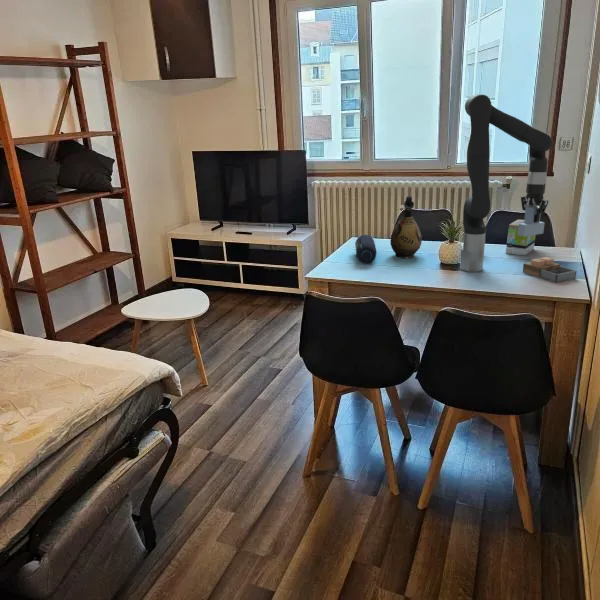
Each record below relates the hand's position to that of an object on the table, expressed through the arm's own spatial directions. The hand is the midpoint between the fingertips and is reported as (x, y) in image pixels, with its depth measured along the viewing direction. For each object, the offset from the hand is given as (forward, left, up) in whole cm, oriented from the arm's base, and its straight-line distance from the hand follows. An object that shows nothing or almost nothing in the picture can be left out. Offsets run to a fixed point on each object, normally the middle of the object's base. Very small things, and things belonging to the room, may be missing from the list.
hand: (531, 221), depth 234 cm
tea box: (+18, +23, -22) cm, 36 cm away
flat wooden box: (0, -8, -22) cm, 23 cm away
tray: (0, -17, -22) cm, 28 cm away
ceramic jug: (-35, +46, -22) cm, 62 cm away
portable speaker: (-54, +53, -22) cm, 79 cm away
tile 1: (-2, -8, -18) cm, 19 cm away
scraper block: (0, 0, -6) cm, 6 cm away
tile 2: (+3, -8, -18) cm, 19 cm away
